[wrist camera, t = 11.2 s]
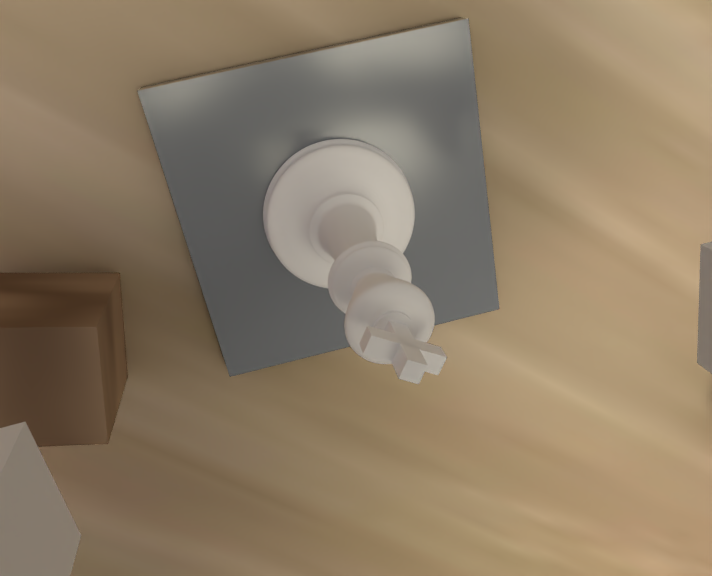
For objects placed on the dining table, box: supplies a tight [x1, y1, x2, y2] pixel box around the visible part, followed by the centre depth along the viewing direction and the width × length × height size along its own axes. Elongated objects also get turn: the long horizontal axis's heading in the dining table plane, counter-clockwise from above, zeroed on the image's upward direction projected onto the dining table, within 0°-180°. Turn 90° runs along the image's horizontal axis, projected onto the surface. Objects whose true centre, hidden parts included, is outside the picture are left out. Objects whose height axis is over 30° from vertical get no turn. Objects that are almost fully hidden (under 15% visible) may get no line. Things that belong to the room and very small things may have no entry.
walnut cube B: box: [0, 273, 128, 447], centre depth 21 cm, size 4×4×4 cm
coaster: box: [137, 18, 499, 377], centre depth 22 cm, size 10×10×1 cm
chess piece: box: [263, 139, 447, 384], centre depth 17 cm, size 5×5×10 cm
